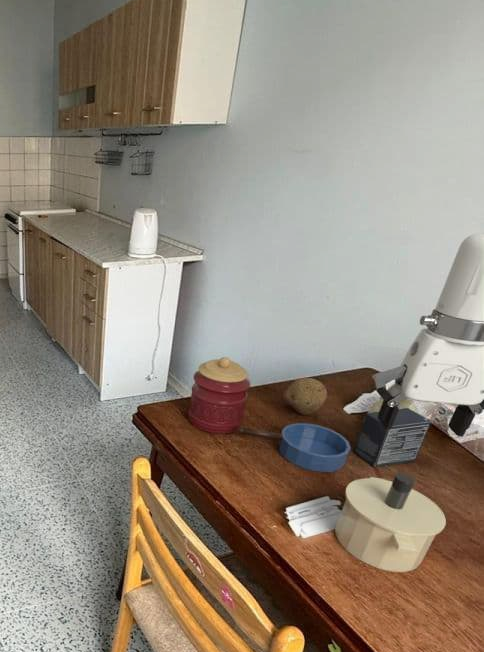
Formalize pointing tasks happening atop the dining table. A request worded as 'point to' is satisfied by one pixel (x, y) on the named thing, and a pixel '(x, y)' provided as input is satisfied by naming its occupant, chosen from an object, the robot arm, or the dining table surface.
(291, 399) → the brown lumpy rounded lump
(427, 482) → the dining table surface
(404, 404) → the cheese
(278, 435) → the pan handle
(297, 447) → the pan
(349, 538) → the pot
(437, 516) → the lid
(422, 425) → the small box
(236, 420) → the kitchen canister
